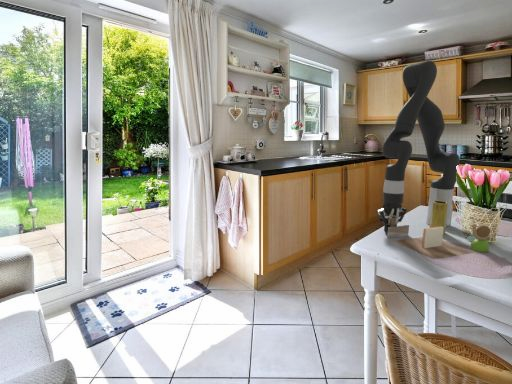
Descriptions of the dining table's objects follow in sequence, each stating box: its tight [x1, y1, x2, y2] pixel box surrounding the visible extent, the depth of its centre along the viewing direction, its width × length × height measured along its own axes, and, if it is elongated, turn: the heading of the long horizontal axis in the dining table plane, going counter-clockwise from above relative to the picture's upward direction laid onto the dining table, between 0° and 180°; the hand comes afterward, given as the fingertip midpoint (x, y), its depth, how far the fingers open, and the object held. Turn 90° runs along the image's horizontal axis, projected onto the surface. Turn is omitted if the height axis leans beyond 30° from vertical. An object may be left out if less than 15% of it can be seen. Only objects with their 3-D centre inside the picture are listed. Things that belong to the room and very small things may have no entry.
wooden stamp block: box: [386, 217, 410, 239], centre depth 128 cm, size 6×10×7 cm, turn 109°
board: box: [394, 236, 474, 260], centre depth 115 cm, size 18×18×2 cm
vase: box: [429, 201, 448, 235], centre depth 130 cm, size 6×6×14 cm
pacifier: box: [466, 235, 477, 243], centre depth 122 cm, size 7×6×6 cm
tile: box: [422, 226, 444, 248], centre depth 114 cm, size 8×1×7 cm, turn 109°
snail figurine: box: [470, 220, 491, 253], centre depth 111 cm, size 5×6×12 cm
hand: (389, 232), depth 130 cm, fingers closed on wooden stamp block, 2 cm apart
